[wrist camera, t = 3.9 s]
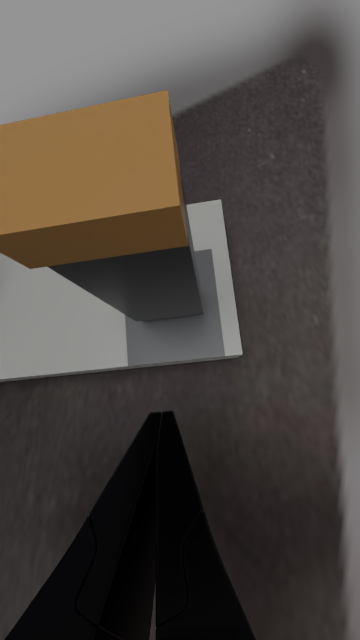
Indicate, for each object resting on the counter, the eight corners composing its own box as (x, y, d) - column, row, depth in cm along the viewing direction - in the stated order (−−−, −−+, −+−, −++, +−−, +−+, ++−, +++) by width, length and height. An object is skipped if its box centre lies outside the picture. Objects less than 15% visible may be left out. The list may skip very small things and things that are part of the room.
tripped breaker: (204, 319, 14) (180, 205, 4) (136, 327, 14) (-26, 239, 5) (199, 278, 14) (167, 90, 5) (134, 286, 14) (-19, 129, 5)
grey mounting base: (236, 357, 18) (242, 354, 14) (-37, 385, 20) (-100, 389, 16) (219, 233, 20) (220, 198, 16) (-31, 270, 22) (-86, 248, 18)
